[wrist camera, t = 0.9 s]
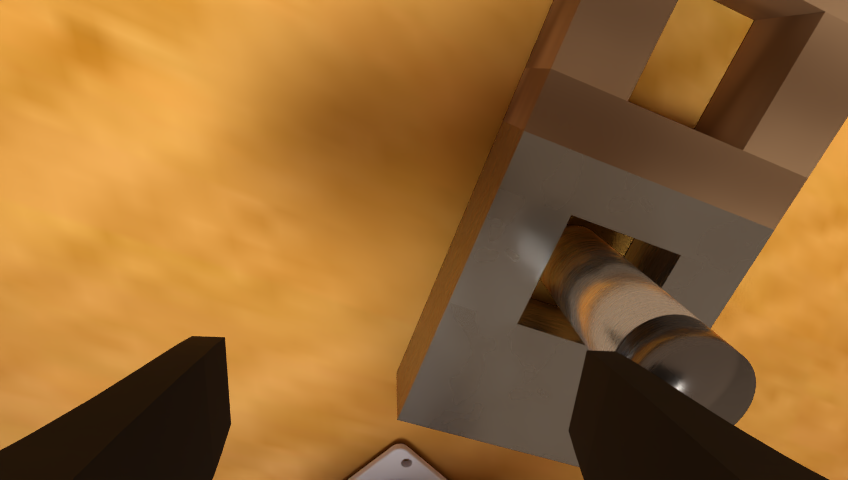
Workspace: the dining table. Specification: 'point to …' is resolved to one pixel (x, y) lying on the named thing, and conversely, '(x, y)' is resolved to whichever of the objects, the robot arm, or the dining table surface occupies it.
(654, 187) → the socket block
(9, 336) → the dining table surface
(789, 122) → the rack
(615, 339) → the cylindrical metal peg
